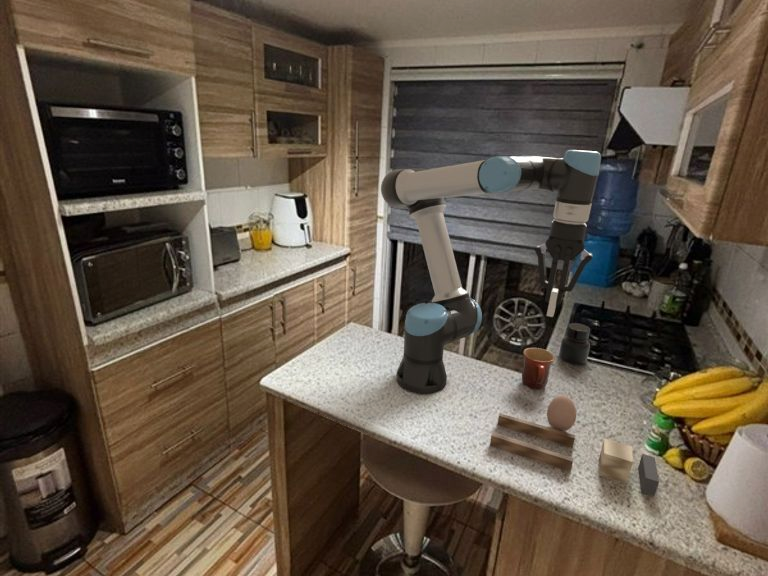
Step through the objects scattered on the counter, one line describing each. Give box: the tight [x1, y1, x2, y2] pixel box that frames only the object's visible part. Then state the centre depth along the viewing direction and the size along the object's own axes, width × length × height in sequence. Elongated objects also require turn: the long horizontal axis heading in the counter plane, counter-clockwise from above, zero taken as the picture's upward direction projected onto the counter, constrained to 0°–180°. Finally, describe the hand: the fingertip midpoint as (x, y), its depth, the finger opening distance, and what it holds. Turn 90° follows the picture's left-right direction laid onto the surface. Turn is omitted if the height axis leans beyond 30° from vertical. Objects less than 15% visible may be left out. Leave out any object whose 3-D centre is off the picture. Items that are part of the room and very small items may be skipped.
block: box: [598, 438, 634, 485], centre depth 93 cm, size 6×6×6 cm
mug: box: [521, 347, 555, 391], centre depth 123 cm, size 12×9×10 cm
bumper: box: [637, 453, 660, 498], centre depth 90 cm, size 2×8×4 cm, turn 154°
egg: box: [546, 395, 577, 432], centre depth 105 cm, size 7×7×10 cm
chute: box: [489, 412, 576, 473], centre depth 100 cm, size 18×10×3 cm, turn 64°
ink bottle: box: [558, 322, 591, 366], centre depth 141 cm, size 10×9×12 cm
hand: (550, 314), depth 104 cm, fingers closed
